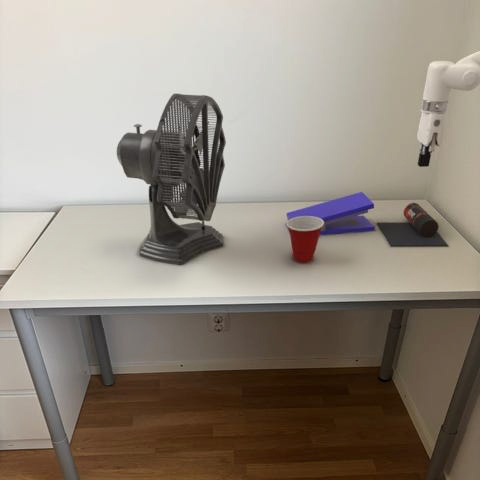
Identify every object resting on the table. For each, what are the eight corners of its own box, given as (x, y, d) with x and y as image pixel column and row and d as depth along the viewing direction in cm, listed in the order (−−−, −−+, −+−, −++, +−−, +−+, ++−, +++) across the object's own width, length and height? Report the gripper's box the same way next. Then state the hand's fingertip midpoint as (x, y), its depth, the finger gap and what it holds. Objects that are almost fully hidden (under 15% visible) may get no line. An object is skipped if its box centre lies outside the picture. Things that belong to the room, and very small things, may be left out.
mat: (429, 223, 177) (429, 222, 176) (447, 246, 162) (447, 245, 162) (377, 223, 176) (377, 222, 176) (391, 246, 161) (391, 245, 161)
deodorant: (417, 219, 179) (434, 238, 167) (401, 218, 178) (417, 236, 166) (422, 203, 176) (441, 221, 164) (406, 202, 175) (423, 219, 163)
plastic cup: (292, 247, 160) (295, 211, 154) (325, 255, 156) (329, 218, 149) (278, 262, 152) (280, 224, 146) (312, 270, 148) (316, 231, 141)
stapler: (375, 231, 171) (379, 202, 166) (294, 237, 167) (296, 208, 161) (361, 217, 180) (365, 190, 175) (284, 223, 176) (286, 195, 170)
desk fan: (267, 261, 152) (273, 100, 127) (163, 289, 139) (147, 114, 114) (215, 221, 177) (212, 79, 151) (123, 241, 163) (102, 88, 138)
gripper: (455, 111, 151) (442, 173, 161) (437, 101, 163) (426, 158, 174) (430, 111, 151) (418, 173, 161) (414, 101, 163) (404, 159, 173)
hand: (423, 165), depth 167 cm, fingers closed
